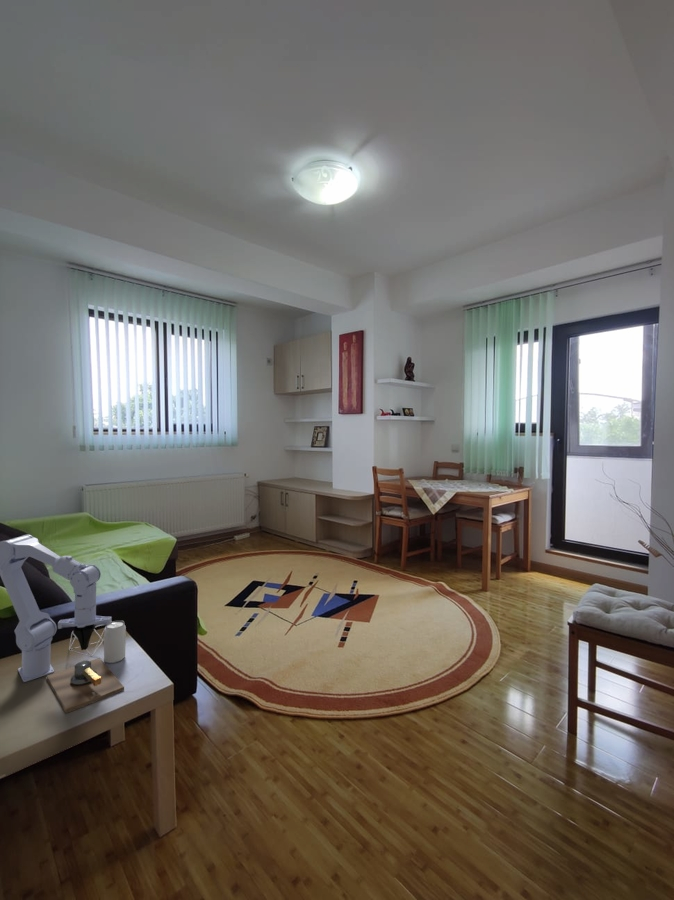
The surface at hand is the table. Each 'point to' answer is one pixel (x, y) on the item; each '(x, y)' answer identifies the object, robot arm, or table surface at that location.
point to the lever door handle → (85, 674)
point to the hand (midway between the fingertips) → (84, 648)
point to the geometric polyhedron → (91, 643)
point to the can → (114, 642)
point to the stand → (83, 686)
